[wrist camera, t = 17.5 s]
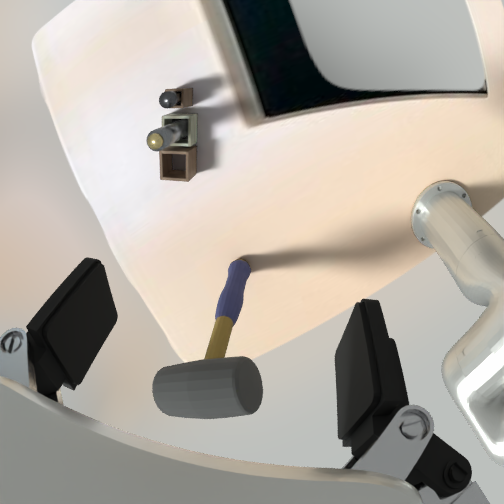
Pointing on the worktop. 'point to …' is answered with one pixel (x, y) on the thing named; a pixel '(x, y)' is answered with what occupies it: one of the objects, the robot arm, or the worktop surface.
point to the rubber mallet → (214, 367)
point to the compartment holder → (180, 142)
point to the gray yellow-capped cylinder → (167, 135)
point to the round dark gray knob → (169, 99)
